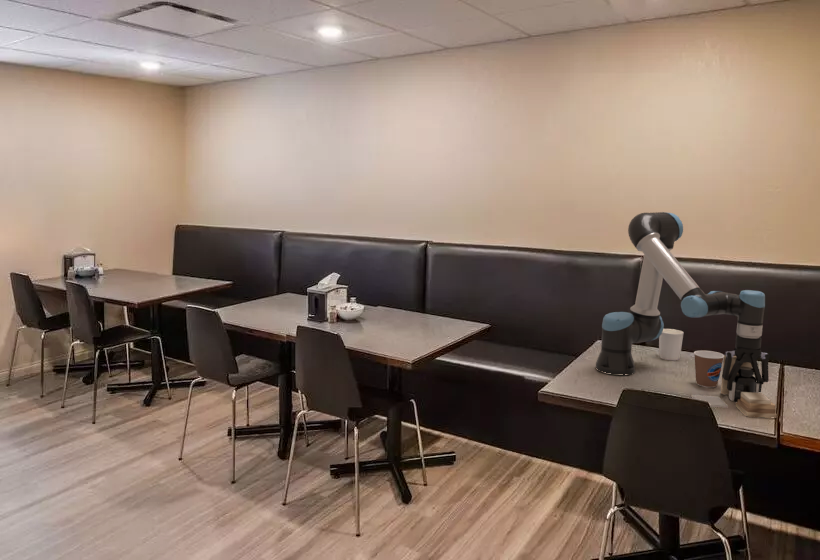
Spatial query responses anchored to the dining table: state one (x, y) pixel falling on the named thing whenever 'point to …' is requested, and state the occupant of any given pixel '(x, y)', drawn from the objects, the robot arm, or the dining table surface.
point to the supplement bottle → (744, 382)
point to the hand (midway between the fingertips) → (742, 399)
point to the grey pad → (712, 400)
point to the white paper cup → (670, 344)
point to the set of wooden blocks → (751, 399)
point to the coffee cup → (708, 368)
